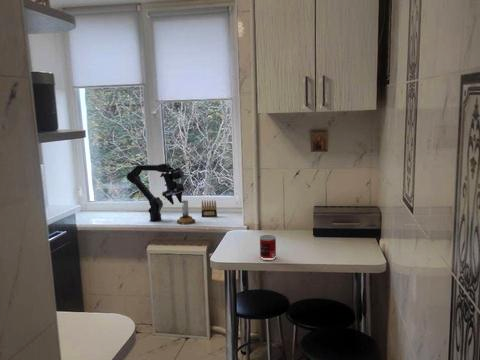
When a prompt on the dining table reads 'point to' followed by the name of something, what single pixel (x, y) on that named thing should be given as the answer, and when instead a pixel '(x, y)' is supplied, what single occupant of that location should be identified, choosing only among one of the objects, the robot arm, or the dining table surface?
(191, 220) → the sprocket
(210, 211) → the ammunition clip
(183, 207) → the drive pin
